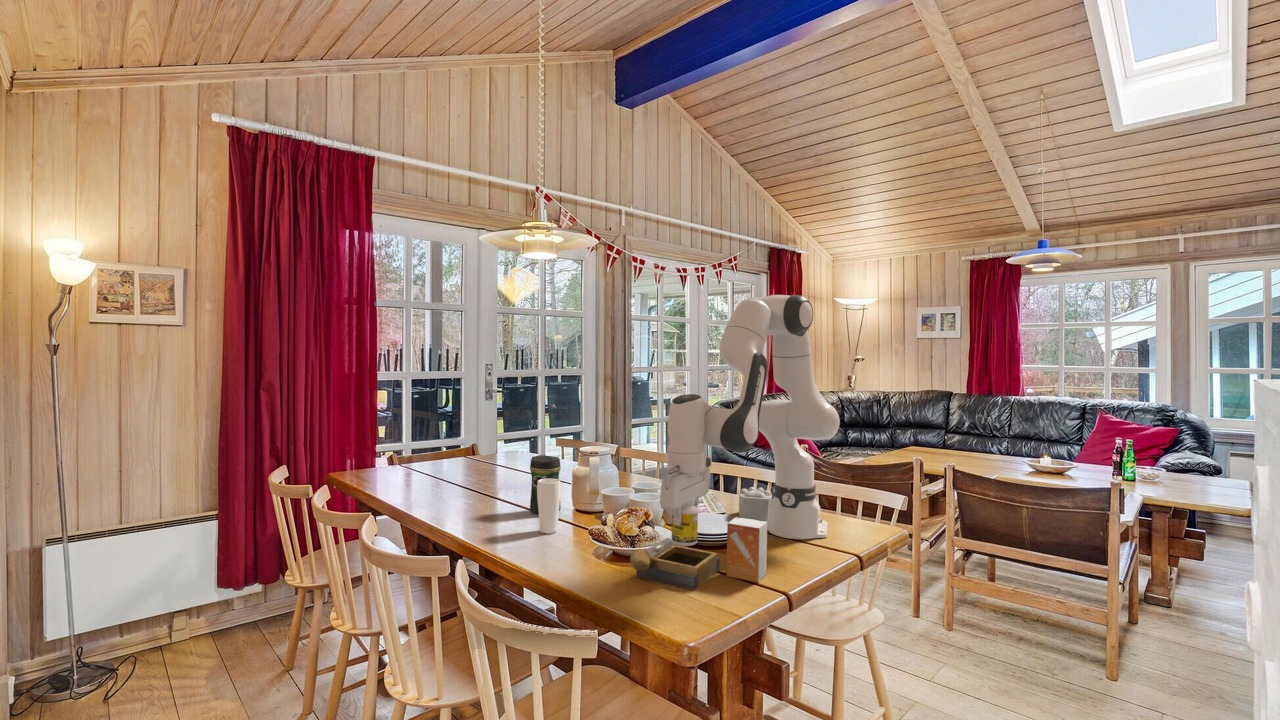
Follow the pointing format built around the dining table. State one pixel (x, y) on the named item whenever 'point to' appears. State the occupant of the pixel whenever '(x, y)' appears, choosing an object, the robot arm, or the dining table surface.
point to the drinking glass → (548, 504)
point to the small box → (746, 549)
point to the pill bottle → (686, 526)
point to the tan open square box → (675, 564)
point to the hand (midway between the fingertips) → (685, 520)
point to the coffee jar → (542, 475)
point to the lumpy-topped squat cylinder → (754, 503)
